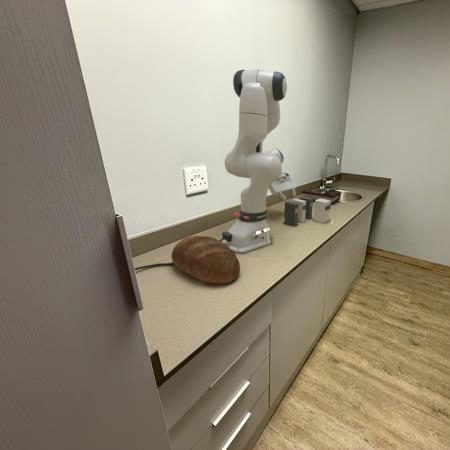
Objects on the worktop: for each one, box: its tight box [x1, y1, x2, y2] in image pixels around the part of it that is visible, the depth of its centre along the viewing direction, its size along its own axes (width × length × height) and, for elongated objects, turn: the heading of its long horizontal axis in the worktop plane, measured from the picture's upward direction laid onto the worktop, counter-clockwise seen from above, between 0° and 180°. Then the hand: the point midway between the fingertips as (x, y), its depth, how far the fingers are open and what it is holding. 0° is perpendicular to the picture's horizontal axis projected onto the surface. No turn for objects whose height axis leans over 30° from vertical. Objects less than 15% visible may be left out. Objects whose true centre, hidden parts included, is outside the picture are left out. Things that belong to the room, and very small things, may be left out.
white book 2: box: [313, 200, 328, 224], centre depth 138 cm, size 3×7×12 cm, turn 56°
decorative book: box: [301, 186, 342, 206], centre depth 184 cm, size 19×8×30 cm
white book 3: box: [318, 198, 332, 222], centre depth 140 cm, size 3×7×12 cm, turn 56°
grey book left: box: [283, 201, 299, 227], centre depth 131 cm, size 3×7×12 cm, turn 56°
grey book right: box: [299, 196, 314, 220], centre depth 143 cm, size 3×7×12 cm, turn 56°
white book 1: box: [292, 198, 306, 223], centre depth 137 cm, size 3×7×12 cm, turn 56°
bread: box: [171, 235, 241, 284], centre depth 85 cm, size 16×29×11 cm, turn 57°
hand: (290, 198), depth 138 cm, fingers open, 8 cm apart
